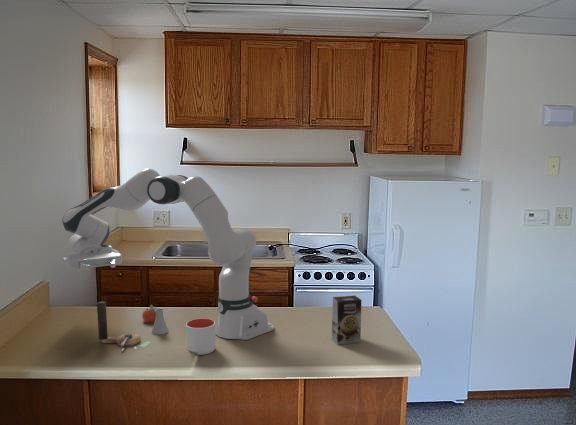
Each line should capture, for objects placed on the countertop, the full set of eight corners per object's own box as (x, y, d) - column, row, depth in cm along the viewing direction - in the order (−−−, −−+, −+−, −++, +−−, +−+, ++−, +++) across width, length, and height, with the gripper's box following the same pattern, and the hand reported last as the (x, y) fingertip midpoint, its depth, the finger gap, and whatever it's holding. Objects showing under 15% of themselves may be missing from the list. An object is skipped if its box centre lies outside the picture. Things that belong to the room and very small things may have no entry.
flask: (165, 339, 195) (164, 313, 193) (146, 338, 196) (145, 312, 195) (173, 332, 202) (172, 307, 200) (155, 331, 203) (154, 306, 202)
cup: (185, 346, 188) (184, 319, 187) (213, 343, 191) (212, 317, 190) (188, 358, 179) (187, 329, 177) (218, 354, 182) (217, 326, 180)
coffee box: (337, 345, 189) (338, 301, 187) (331, 338, 196) (331, 296, 193) (361, 342, 192) (362, 299, 190) (354, 336, 198) (355, 294, 196)
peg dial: (142, 337, 193) (141, 299, 191) (133, 350, 181) (132, 310, 179) (102, 337, 193) (100, 299, 191) (91, 350, 181) (88, 310, 179)
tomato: (159, 327, 207) (158, 307, 206) (140, 327, 207) (139, 307, 206) (163, 320, 214) (163, 301, 213) (145, 320, 214) (144, 301, 213)
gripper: (61, 249, 200) (72, 262, 190) (114, 244, 213) (127, 256, 203) (61, 265, 202) (72, 278, 192) (114, 259, 215) (127, 271, 204)
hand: (101, 267), depth 197 cm, fingers open, 8 cm apart
